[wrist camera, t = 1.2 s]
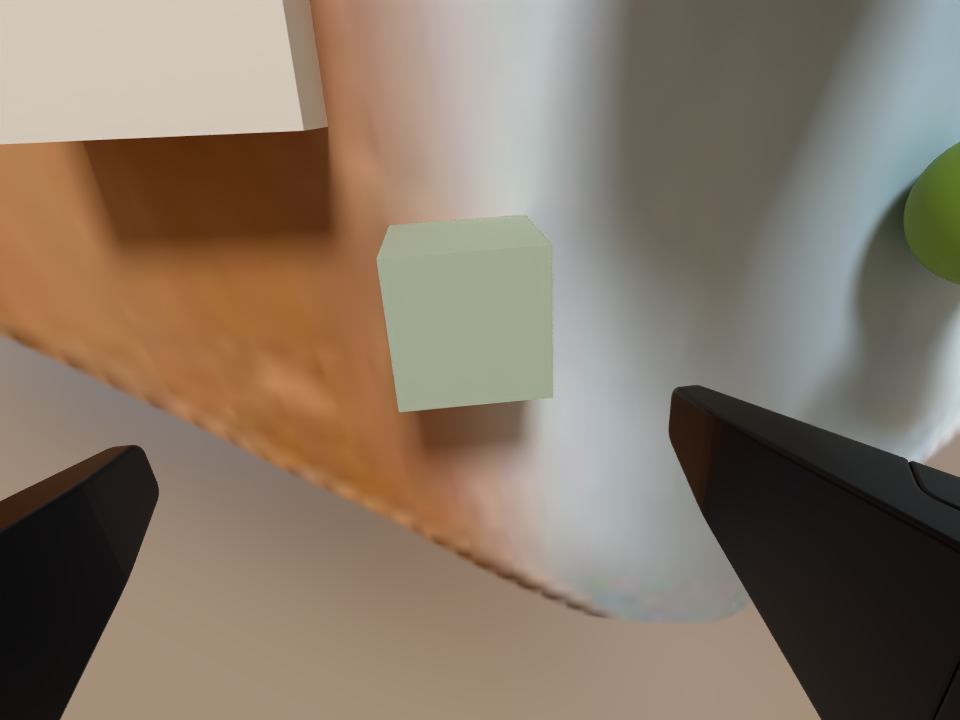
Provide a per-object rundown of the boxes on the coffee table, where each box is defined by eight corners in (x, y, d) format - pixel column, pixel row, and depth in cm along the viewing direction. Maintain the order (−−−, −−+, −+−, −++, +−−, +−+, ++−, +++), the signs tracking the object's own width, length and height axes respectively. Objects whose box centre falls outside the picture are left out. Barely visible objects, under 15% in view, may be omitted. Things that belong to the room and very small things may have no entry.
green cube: (524, 214, 20) (552, 244, 15) (528, 338, 22) (553, 397, 17) (389, 225, 20) (376, 259, 15) (405, 349, 22) (398, 412, 17)
